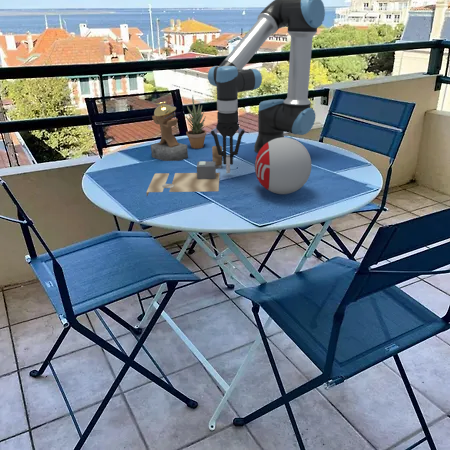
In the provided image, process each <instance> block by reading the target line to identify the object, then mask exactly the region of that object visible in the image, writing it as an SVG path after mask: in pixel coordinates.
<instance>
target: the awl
mask: <svg viewBox="0 0 450 450" xmlns="http://www.w3.org/2000/svg"><path fill="white" fill-rule="evenodd" d="M220 148H221V151H222V152H223V145H220ZM211 153H212V161H216V169H222V165H223V156H221V155H218V151H217V147H216V145H213V146H212V147H211Z"/></svg>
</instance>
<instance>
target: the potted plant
mask: <svg viewBox="0 0 450 450" xmlns="http://www.w3.org/2000/svg"><path fill="white" fill-rule="evenodd" d="M191 100H192V109H190V107H189V106H188V105H186V107H187V110H188V112H189V113H188V117H189V118H188V117H187V116H185V119H186V120H187V121H188V122H189V123H188V125H189V128H190V130H188V131H186V137H187V138H188V141H189V145H190V147H191V148H192V149H201V148H204V144H205V139H206V136H207V131H206V130H204V128H205V123H204V122H205V120H206V116H204V114H205V111H202V110H203V105H201V106H200V104H198V107H197V106H195V100H194V96H191ZM191 110H192V111H191ZM203 116H204V118H203Z"/></svg>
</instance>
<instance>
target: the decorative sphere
mask: <svg viewBox="0 0 450 450" xmlns="http://www.w3.org/2000/svg"><path fill="white" fill-rule="evenodd" d="M254 160H255V163H254V172H255V176H256V178H257V181H258V182H259V184H261V185H262V186H261V187H263V188H265V190H267V191H269V192H271V193H274V194H277V195H288V194H292V193H294V192H297V191H298V190H300V189H301V188H302V187H304V186H305V184H306V183H307V182H308V181H309V178H310V176H311V173H312V159H311V155H310V153H309V151H308V149H307V148H306V147H305V145H304V144H302V143H301V142H299V141H298V140H296V139H295V138H292V137H285V136H284V137H282V138H276V139H273V140H271V141H269V142H267V143H266V144H265V145H264V146H263V147H262V148H261V149H260V151H259V152H258V153H257V154H256V156H255V159H254Z"/></svg>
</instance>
